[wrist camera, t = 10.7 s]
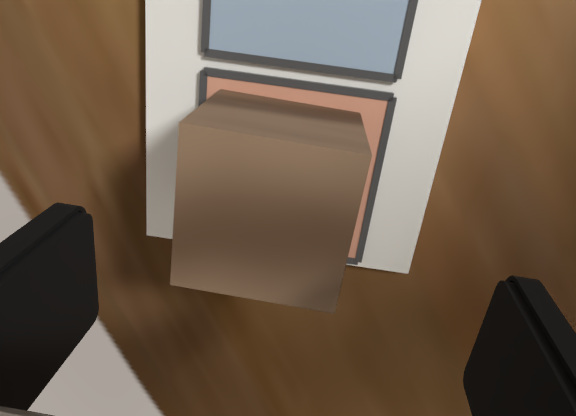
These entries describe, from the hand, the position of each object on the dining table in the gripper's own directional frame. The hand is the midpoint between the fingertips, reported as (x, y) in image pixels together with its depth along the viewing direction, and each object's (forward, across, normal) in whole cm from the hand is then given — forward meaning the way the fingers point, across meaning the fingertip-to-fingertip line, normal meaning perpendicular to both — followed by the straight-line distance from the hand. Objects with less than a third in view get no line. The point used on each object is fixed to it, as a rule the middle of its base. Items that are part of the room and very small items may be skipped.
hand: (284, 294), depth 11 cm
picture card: (+10, +1, -3) cm, 11 cm away
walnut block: (+9, +1, 0) cm, 9 cm away
